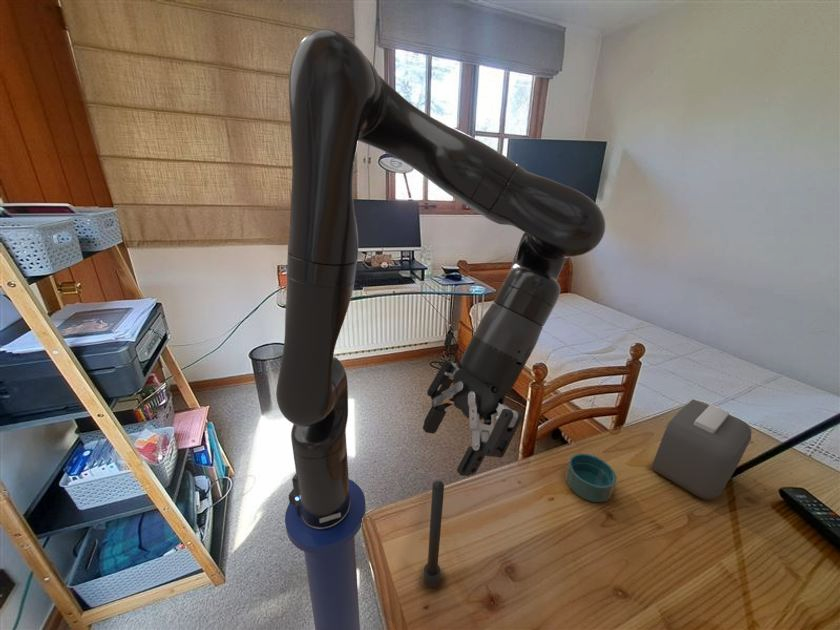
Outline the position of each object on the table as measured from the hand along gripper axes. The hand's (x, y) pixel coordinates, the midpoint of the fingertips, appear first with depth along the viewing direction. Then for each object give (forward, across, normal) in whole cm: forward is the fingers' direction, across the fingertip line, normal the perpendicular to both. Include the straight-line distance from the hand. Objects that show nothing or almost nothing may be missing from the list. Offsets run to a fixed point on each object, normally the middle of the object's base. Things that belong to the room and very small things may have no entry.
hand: (444, 451), depth 45 cm
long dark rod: (+23, 0, +12) cm, 26 cm away
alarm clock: (-7, +10, +67) cm, 68 cm away
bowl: (+4, 0, +46) cm, 46 cm away
